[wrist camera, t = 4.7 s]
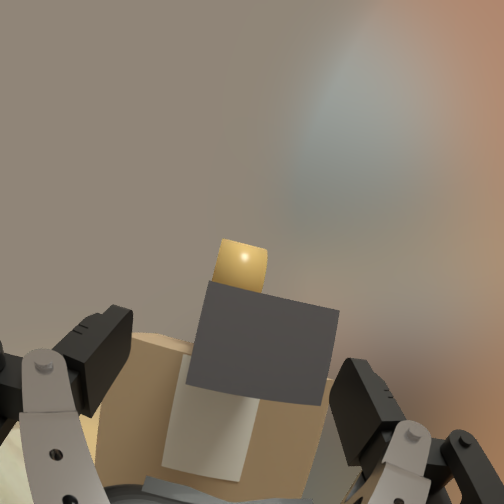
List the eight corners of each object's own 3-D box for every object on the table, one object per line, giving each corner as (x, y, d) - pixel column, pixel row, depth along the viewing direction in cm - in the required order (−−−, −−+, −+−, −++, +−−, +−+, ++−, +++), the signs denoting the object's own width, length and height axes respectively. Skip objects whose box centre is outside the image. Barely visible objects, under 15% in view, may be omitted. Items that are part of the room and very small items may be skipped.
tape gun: (320, 406, 8) (354, 132, 11) (185, 384, 7) (258, 101, 10) (235, 353, 29) (256, 260, 32) (197, 344, 28) (219, 251, 31)
